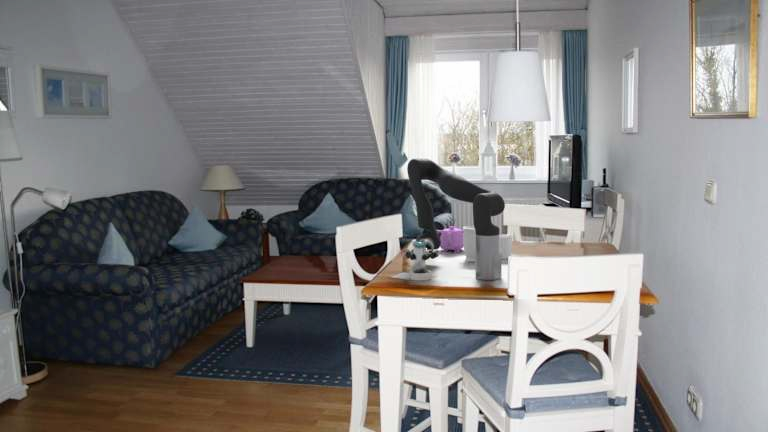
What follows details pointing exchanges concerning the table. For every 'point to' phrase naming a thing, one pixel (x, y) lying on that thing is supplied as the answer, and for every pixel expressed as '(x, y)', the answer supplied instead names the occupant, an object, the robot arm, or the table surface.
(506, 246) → the white cup
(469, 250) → the jar
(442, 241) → the pot
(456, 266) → the table surface
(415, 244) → the teal capped bottle
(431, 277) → the dock
